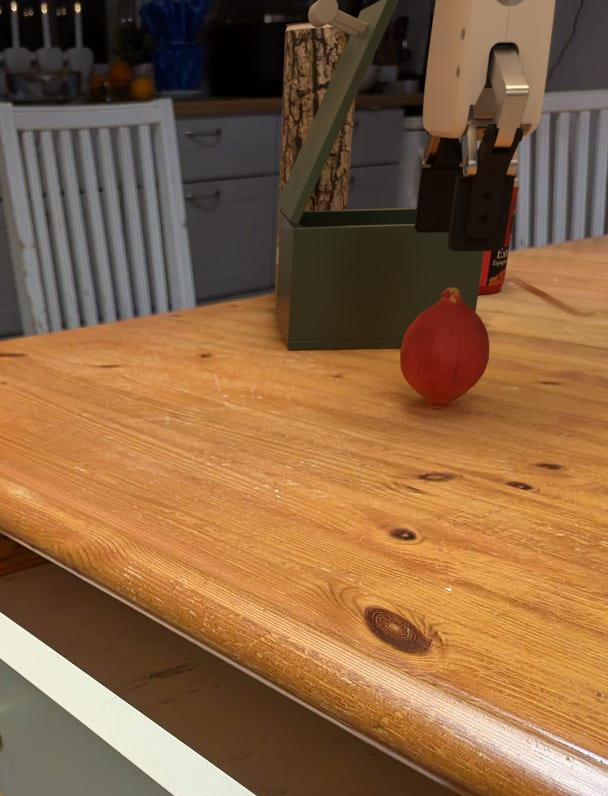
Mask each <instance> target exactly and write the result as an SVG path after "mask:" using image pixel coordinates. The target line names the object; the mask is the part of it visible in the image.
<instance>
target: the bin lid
mask: <svg viewBox="0 0 608 796" xmlns="http://www.w3.org/2000/svg"><path fill="white" fill-rule="evenodd" d="M398 3H399V0H378V1H377V2H375V3H373V4H371V5H368V6H367V7H366V8H363V9H362V10H360V11H359V14H358V16H357V18H356V17H354V16H352V15H350V14H348V13H346V12H344V11H342V10H339V4H338V1H337V0H317V1H315V2H314V3H313V4H312V5H311V6H310V7H309V10H308V13H307V18H308V22H310V24H311V25H312V26H314V27H317V28H320V27H323V26H324V25H326V24H328V25H331V26H333V27H335V28H337V29H339V30H341V31H343V32H345V33H347V34H349V35H350V37H349V39H348V42H347V44H346V46H345V49H344V51H343V53H342V55H341V58H340V60H339V62H338V65H337V67H336V69H335V72H334V74H333V76H332V78H331V81H330V83H329V85H328V88H327V90H326V92H325V95H324V97H323V99H322V101H321V104H320V106H319V108H318V111H317V113H316V115H315V118H314V120H313V122H312V125H311V127H310V129H309V131H308V134H307V136H306V138H305V141H304V143H303V145H302V148H301V150H300V152H299V154H298V157H297V159H296V161H295V164H294V166H293V168H292V171H291V173H290V175H289V177H288V180H287V182H286V184H285V187H284V189H283V191H282V194H281V196H280V198H279V197H278V200H277V203H276V205H277V207H278V206H279V208H280V209H281V210H282V211H283V213H284V214H285V215H286V216H287V218H288V219H289V220H290V221H292V222H294V223H296V224H299V221H300V219H301V217H302V215H303V212H304V210H305V208H306V206H307V204H308V201H309V199H310V197H311V195H312V192H313V190H314V188H315V186H316V183H317V181H318V179H319V177H320V175H321V172H322V170H323V168H324V166H325V163H326V161H327V159H328V157H329V155H330V152H331V150H332V148H333V146H334V143H335V141H336V139H337V137H338V134H339V132H340V130H341V128H342V126H343V123H344V121H345V119H346V117H347V114H348V112H349V110H350V108H351V106H352V103H353V101H354V99H355V100H356V97H357V94H358V92H359V90H360V88H361V85H362V84H363V81H364V79H365V76H366V74H367V72H368V70H369V68H370V65H371V63H372V60H373V59H374V56H375V54H376V52H377V50H378V48H379V45H380V43H381V41H382V39H383V37H384V34H385V33H386V30H387V27H388V25H389V23H390V21H391V19H392V16H393V15H394V12H395V10H396V8H397V5H398Z"/></svg>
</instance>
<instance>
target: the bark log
mask: <svg viewBox="0 0 608 796" xmlns="http://www.w3.org/2000/svg"><path fill="white" fill-rule="evenodd" d="M285 26H286V29H285V35H284V59H283V60H284V61H283V82H282V83H283V85H282V87H283V88H282V106H281V107H282V109H281V110H282V111H281V131H280V155H279V157H280V158H279V159H280V160H279V180H278V181H279V182H278V183H279V184H278V199H279V198H280V196H281V194H282V191H283V189H284V187H285V184H286V182H287V180H288V177H289V175H290V173H291V171H292V168H293V166H294V164H295V161H296V159H297V157H298V154H299V152H300V150H301V148H302V145H303V143H304V141H305V138H306V136H307V134H308V131H309V129H310V127H311V125H312V122H313V120H314V118H315V115H316V113H317V111H318V108H319V106H320V104H321V101H322V99H323V97H324V95H325V92H326V90H327V88H328V85H329V83H330V81H331V78H332V76H333V74H334V72H335V69H336V67H337V65H338V62H339V60H340V58H341V55H342V53H343V51H344V49H345V46H346V44H347V42H348V39H349V37H350V35H349V34H347V33H345V32H343V31H341V30H339V29H337V28H335V27H333V26H331V25H328V24H326V25H324V26H323V27H320V28H317V27H314V26H312V25H311V24H310V22H309V21H305V22H304V21H303V22H295V23H288V24H286V25H285ZM355 100H356V98H355V99H354V101H353V103H352V106H351V108H350V110H349V112H348V114H347V117H346V119H345V121H344V123H343V126H342V128H341V130H340V132H339V134H338V137H337V139H336V141H335V143H334V146H333V148H332V150H331V152H330V155H329V157H328V159H327V161H326V163H325V166H324V168H323V170H322V172H321V175H320V177H319V179H318V181H317V183H316V186H315V188H314V190H313V192H312V195H311V197H310V199H309V201H308V204H307V206H306V208H305V210H304V211H320V210H348V199H349V198H348V196H349V184H350V171H351V169H350V168H351V157H352V156H351V155H352V145H353V144H352V141H353V128H354V116H355V115H354V114H355V102H356V101H355ZM277 208H278V209H277V232H276V245H277V246H276V253H275V254H276V255H275V257H276V258H275V283H274V285H275V287H274V300H275V302H276V303H277V280H278V256H279V232H280V212H283V211H282V210H281V209H280V208H279V206H278V205H277Z"/></svg>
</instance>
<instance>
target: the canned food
mask: <svg viewBox="0 0 608 796" xmlns="http://www.w3.org/2000/svg"><path fill="white" fill-rule="evenodd" d="M519 187H520V179H518V178H517V177H515V181H514V188H513V194H512V201H511V207H510V213H509V220H508V226H507V232H506V239H505V244H504V247H503V248H502V249H501V250H499V251H484V256H483V263H482V270H481V277H480V285H479V292H478V296H479V295H489V294H490V295H491V294H495V293H497V292H499V291H501V289H502V287H503V285H504V283H505V278H506V272H507V266H508V259H509V253H510V246H511V239H512V235H513V234H512V233H513V227H514V222H515V214H516V208H517V202H518V195H519Z"/></svg>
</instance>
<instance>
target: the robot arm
mask: <svg viewBox="0 0 608 796" xmlns="http://www.w3.org/2000/svg"><path fill="white" fill-rule="evenodd" d="M434 3H435V4H434V11H433V17H432V26H431V33H430V39H429V40H430V41H429V48H428V55H427V56H428V58H427V64H426V73H425V83H424V92H423V105H422V107H423V108H422V124H423V128H424V130H426V136H427V138H426V142H425V145H424V149H423V153H422V166H421V167H420V174H419V183H418V191H417V199H416V207H415V208H416V216H415V225H414V228H415V230H416V231H418V232H420V233H435V232H449V236H448V248H449V249H450V250H452V251H499V250H501V249H502V248H503V247H504V244H505V239H506V232H507V226H508V220H509V213H510V207H511V201H512V194H513V188H514V181H515V178H516V174H517V171H518V167H519V144H520V143H521V142H522V140H523V137H528V136H530V135H531V134H532V133H533V132H534V131H535V130H536V129H537V128H538V126H539V125H540V123H541V119H542V112H543V105H544V98H545V97H544V96H545V90H546V83H547V74H548V67H549V58H550V52H551V51H550V50H551V41H552V33H553V26H554V18H555V8H556V0H435V2H434ZM478 142H480V143H478Z"/></svg>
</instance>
